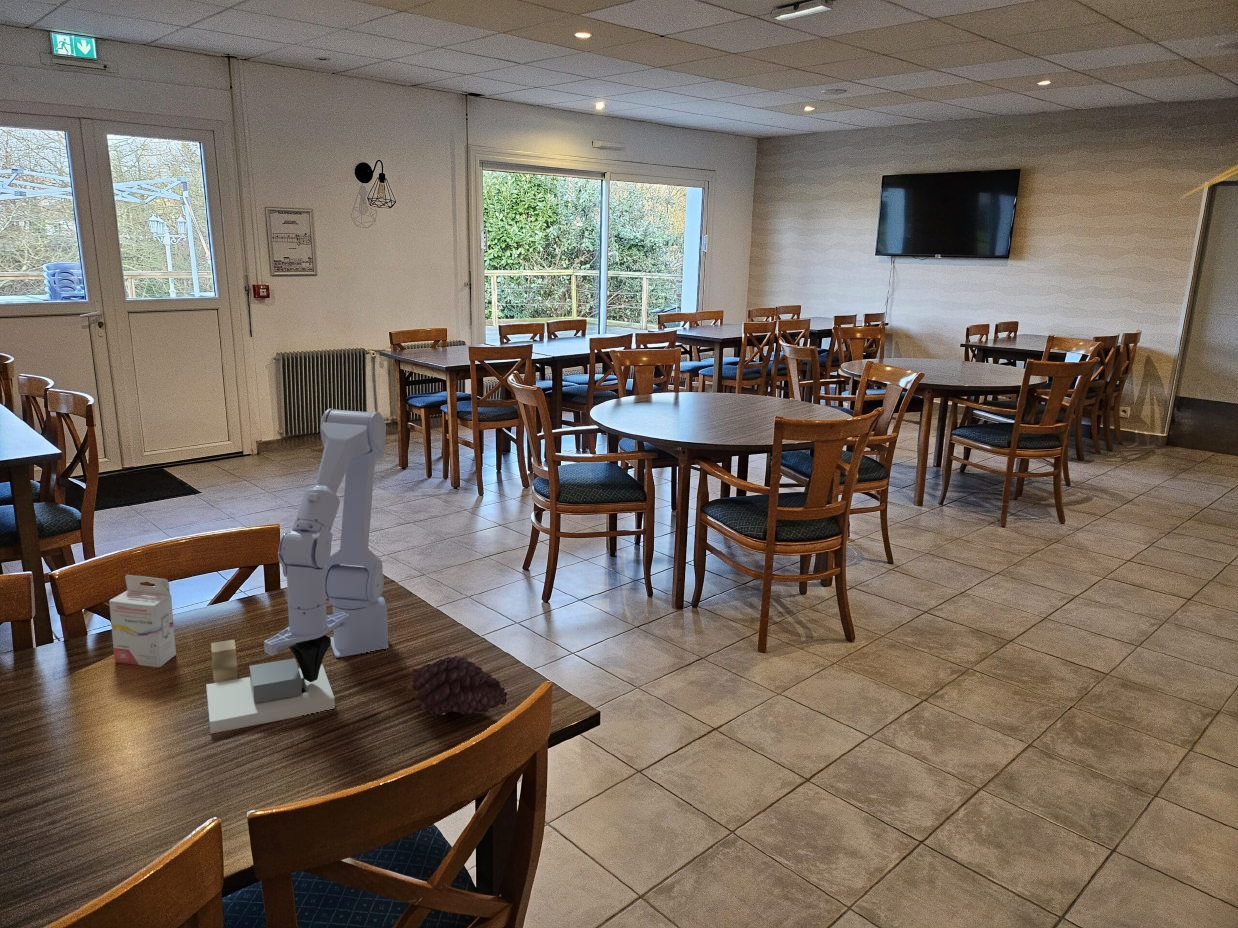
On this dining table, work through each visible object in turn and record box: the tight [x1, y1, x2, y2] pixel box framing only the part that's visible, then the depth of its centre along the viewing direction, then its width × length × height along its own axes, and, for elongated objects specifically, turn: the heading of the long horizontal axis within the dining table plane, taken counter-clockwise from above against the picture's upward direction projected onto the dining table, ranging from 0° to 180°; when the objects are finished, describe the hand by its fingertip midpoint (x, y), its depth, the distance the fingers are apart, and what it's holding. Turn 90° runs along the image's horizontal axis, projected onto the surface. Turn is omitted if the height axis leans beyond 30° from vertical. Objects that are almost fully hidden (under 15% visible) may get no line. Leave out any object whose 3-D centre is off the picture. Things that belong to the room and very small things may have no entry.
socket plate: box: [205, 664, 336, 734], centre depth 135 cm, size 18×12×2 cm, turn 118°
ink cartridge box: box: [108, 574, 177, 668], centre depth 145 cm, size 9×5×15 cm, turn 84°
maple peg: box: [210, 639, 239, 683], centre depth 142 cm, size 4×4×6 cm
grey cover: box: [249, 657, 303, 703], centre depth 135 cm, size 7×7×3 cm
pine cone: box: [406, 655, 508, 717], centre depth 134 cm, size 18×10×10 cm, turn 70°
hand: (310, 678), depth 138 cm, fingers closed
